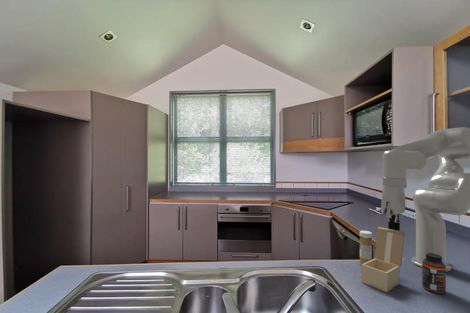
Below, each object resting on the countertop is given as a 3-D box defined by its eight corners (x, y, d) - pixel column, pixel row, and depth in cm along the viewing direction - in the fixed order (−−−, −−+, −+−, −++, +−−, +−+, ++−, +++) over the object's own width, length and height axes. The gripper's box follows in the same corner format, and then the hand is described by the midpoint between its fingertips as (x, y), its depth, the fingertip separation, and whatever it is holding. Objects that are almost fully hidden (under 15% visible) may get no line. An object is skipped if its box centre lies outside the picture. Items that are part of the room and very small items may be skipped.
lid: (374, 258, 89) (375, 258, 89) (400, 266, 82) (401, 266, 83) (377, 226, 91) (379, 226, 92) (403, 231, 84) (404, 232, 85)
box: (374, 274, 88) (374, 258, 89) (399, 283, 82) (399, 266, 82) (361, 282, 82) (361, 264, 83) (387, 292, 76) (387, 273, 76)
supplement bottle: (439, 296, 75) (438, 259, 75) (418, 287, 80) (418, 252, 80) (449, 292, 77) (449, 256, 77) (428, 284, 82) (428, 250, 83)
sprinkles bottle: (361, 262, 100) (361, 229, 100) (373, 265, 97) (373, 231, 97) (357, 265, 97) (358, 231, 97) (370, 268, 94) (370, 234, 94)
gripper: (391, 182, 98) (391, 227, 97) (374, 182, 89) (374, 233, 88) (413, 183, 92) (413, 232, 91) (397, 184, 83) (397, 238, 82)
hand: (393, 232), depth 89 cm, fingers closed
